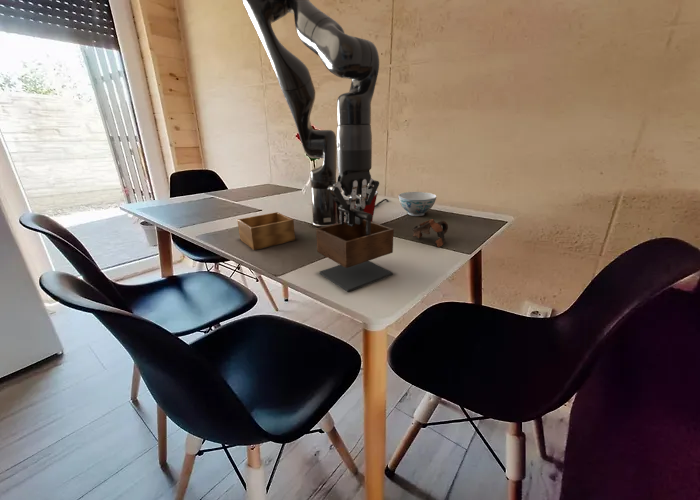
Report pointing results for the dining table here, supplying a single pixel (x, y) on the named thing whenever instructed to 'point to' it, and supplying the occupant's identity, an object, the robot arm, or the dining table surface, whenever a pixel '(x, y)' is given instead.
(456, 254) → the dining table surface
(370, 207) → the plastic cup
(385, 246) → the box
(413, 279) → the dining table surface
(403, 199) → the chinaware
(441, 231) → the brown toy animal
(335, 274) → the mat
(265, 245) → the box
